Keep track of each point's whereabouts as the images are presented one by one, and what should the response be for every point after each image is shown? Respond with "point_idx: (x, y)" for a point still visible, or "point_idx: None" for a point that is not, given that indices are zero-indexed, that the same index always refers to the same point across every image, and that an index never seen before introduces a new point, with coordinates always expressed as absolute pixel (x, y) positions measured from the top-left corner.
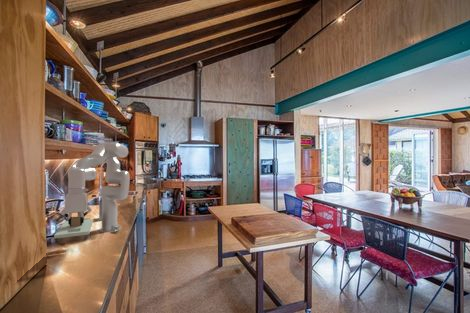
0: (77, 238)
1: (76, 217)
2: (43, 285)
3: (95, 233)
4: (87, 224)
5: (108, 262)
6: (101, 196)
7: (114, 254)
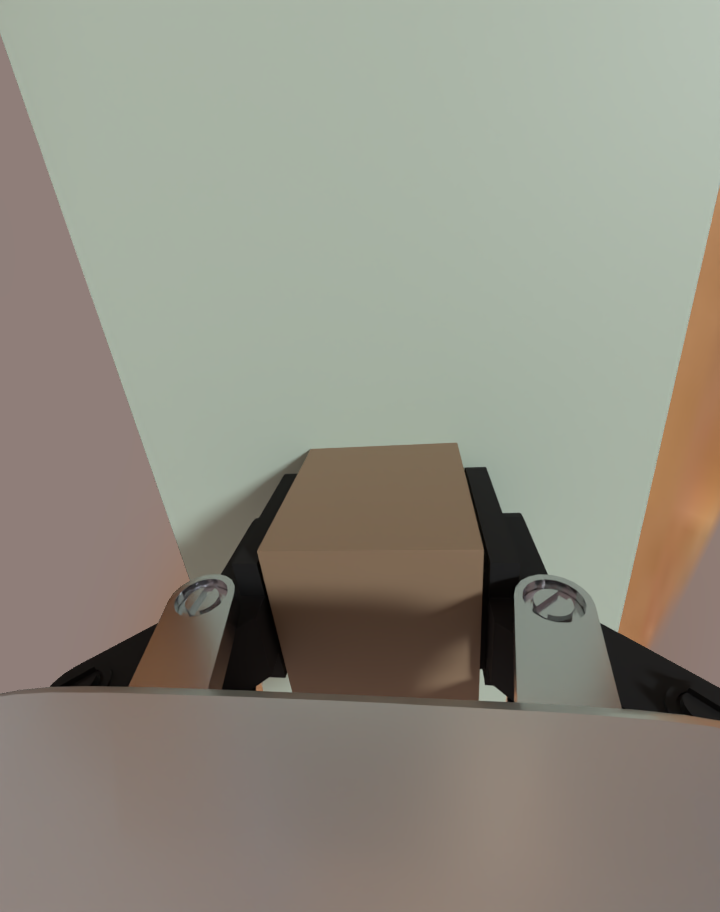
0: None
1: (382, 641)
2: None
3: None
4: (575, 498)
5: (624, 603)
6: None
7: (692, 500)
